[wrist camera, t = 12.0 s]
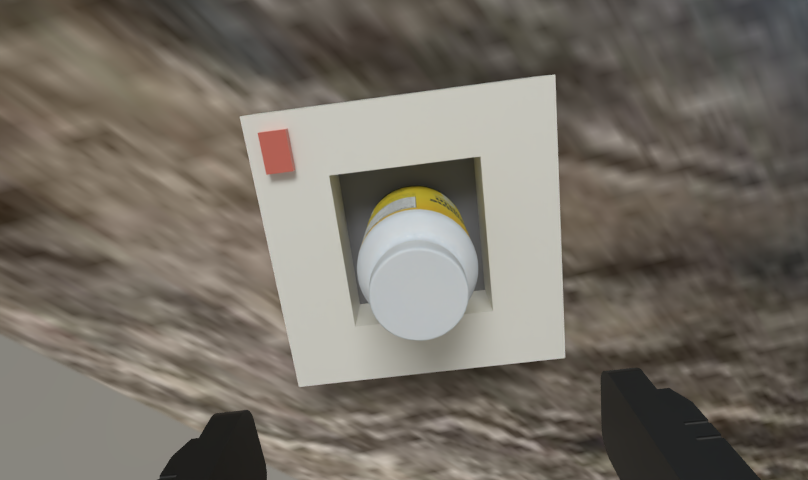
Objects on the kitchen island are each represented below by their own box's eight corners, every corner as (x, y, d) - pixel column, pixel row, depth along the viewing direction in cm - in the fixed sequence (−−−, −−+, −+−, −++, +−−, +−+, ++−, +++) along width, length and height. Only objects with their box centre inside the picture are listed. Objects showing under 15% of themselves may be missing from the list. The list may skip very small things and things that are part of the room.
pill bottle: (466, 267, 35) (494, 352, 24) (375, 278, 35) (361, 366, 24) (457, 176, 33) (483, 221, 22) (361, 188, 33) (338, 238, 22)
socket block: (535, 76, 32) (558, 74, 27) (546, 326, 37) (568, 362, 32) (261, 112, 33) (236, 117, 28) (311, 352, 38) (297, 392, 33)
